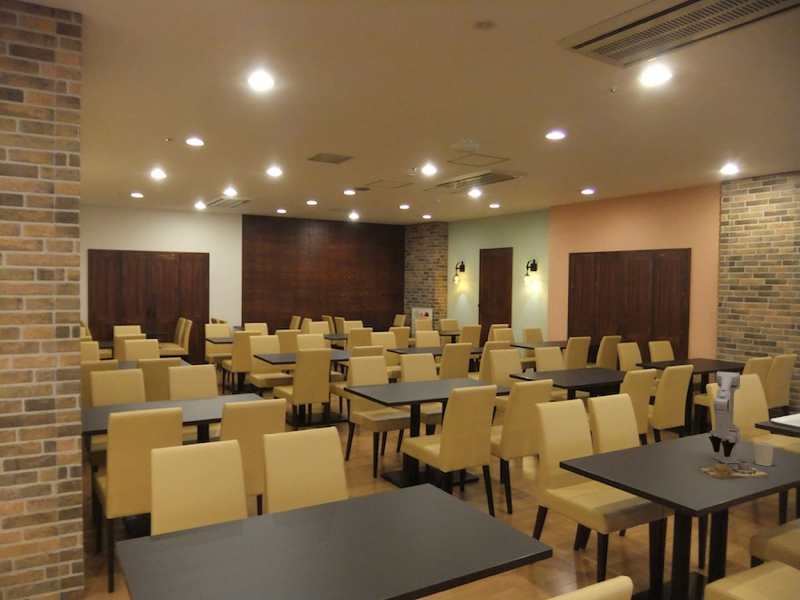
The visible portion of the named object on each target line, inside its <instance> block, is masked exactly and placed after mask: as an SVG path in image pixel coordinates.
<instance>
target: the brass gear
mask: <svg viewBox="0 0 800 600" xmlns="http://www.w3.org/2000/svg"><path fill="white" fill-rule="evenodd" d="M709 468H710V471H711V472H714V473H716V474H723V475H732V474H734V471H733V470H732V469H727V468H728V463H725V462H721V461H716V463H715V466H711V467H709Z"/></svg>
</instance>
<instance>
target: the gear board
mask: <svg viewBox="0 0 800 600" xmlns="http://www.w3.org/2000/svg"><path fill="white" fill-rule="evenodd" d="M738 461H739V460H738ZM710 468H711V467H701V468H700V470H701V471H700V470H699V471H700V472H702V471H703V473H704V472H705V473H704V474H706V473H707V475H708V474H709V475H708V476H710V475H711V476H710V477H712V476H713V477H712V478H714V477H715V478H714V479H716V478H719V479H745V478H746V479H747V478H748V479H749V478H750V479H751V478H752V477H756V478H770V474H768V473H766V472H764V471H761V470H759V469H757V468H754V467H752V466H750V463H749V462H748V461H746V459H741V461H739V462H738V463H737V465H736V466H731V467H727V469H732V470H733V471H734V474H732V475H723V474H716V473H714V472H711V471H710ZM752 479H753V478H752Z"/></svg>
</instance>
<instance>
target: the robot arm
mask: <svg viewBox="0 0 800 600" xmlns="http://www.w3.org/2000/svg"><path fill="white" fill-rule="evenodd" d="M715 378H716V379H715V381H716V384H717V387H718V388H719V389H718V390H717V393H716V398H714V399H713V414H714V430H710V431H709V435H710V436H708V439H709V441H710V443H711V445H712V449H713V452H714V453H715V454H714V455H715V457H713V459H715V460H716V461H718V462H725V463H727V464H738V462H739V460H737V455H738V454H737V448H738V446H737V445H738V444H740V442H741V432H740V431H741V429H740V426H738V425H737V424H735V423H734V419H735V418H734V415H735V414H734V411H735V410H734V409H735V392H736V391H737V390H740V387H741V373H740V372H730V371H728V372H727V371H717V372H716V377H715Z"/></svg>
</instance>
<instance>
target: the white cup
mask: <svg viewBox="0 0 800 600" xmlns="http://www.w3.org/2000/svg"><path fill="white" fill-rule="evenodd" d="M753 446H754V448H753V449H754V459H755V461H754V462H755V464H756V465H759V466H762V465H763V466H762V467H772V466H773V458H774V457H773V456H774V444H773V443H772V442H766V441H754V442H753ZM771 465H772V466H771Z"/></svg>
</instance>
